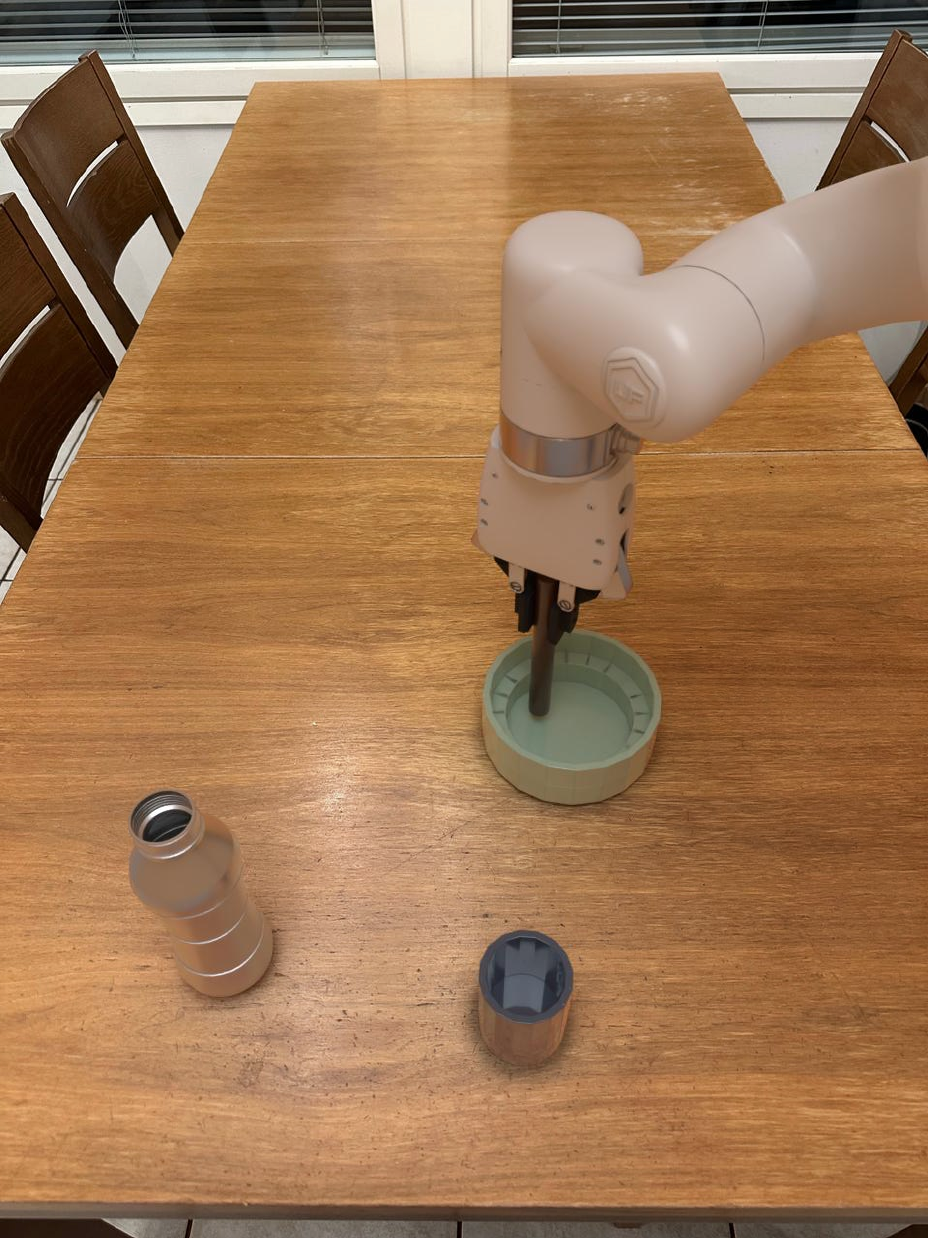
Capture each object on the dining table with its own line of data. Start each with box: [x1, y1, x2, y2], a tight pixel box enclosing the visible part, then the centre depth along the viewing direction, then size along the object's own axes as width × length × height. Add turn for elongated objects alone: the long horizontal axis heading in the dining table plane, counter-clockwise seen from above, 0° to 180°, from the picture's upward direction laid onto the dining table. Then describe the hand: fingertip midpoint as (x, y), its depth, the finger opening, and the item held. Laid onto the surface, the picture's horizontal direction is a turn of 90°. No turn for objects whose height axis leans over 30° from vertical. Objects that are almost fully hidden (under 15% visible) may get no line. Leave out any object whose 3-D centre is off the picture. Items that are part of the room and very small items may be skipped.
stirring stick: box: [528, 573, 560, 717], centre depth 73 cm, size 2×2×16 cm
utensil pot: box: [477, 929, 574, 1067], centre depth 61 cm, size 6×6×8 cm
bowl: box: [481, 628, 663, 806], centre depth 78 cm, size 14×14×6 cm
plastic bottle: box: [127, 788, 274, 998], centre depth 60 cm, size 6×7×20 cm
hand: (545, 624), depth 71 cm, fingers closed on stirring stick, 1 cm apart
